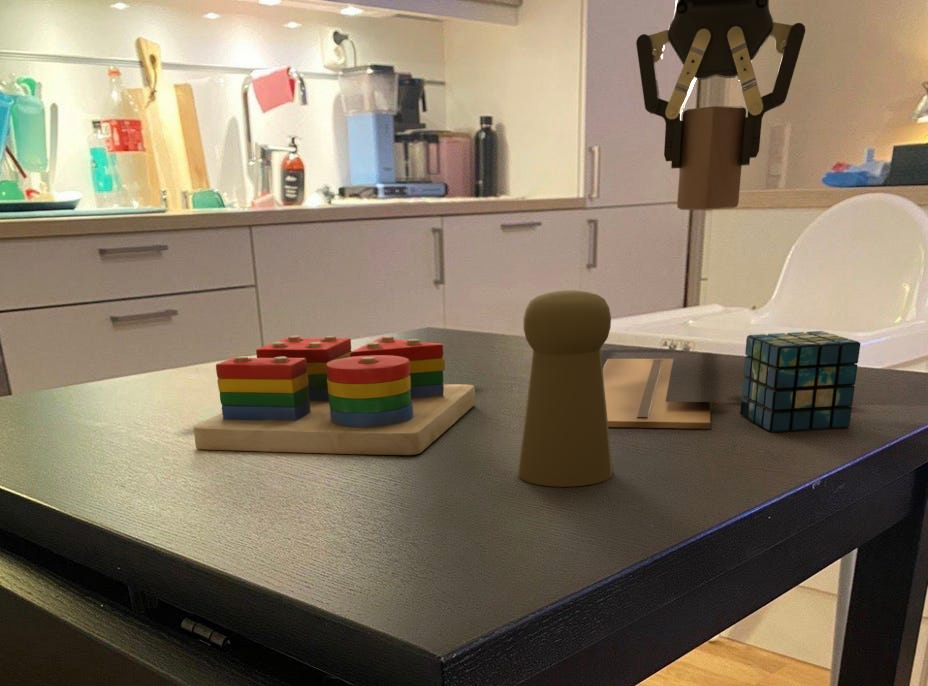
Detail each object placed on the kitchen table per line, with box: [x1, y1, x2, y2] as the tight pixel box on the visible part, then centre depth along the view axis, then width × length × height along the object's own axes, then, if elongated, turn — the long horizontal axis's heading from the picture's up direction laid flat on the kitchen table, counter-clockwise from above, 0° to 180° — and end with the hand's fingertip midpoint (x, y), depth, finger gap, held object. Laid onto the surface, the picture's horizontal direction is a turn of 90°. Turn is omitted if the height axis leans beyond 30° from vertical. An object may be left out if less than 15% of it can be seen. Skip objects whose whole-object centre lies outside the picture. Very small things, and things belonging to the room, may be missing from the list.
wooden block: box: [676, 105, 747, 211], centre depth 85 cm, size 4×4×8 cm
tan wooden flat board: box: [602, 358, 712, 430], centre depth 85 cm, size 10×28×1 cm, turn 166°
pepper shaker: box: [517, 289, 614, 488], centre depth 60 cm, size 6×6×11 cm
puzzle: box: [739, 330, 861, 433], centre depth 71 cm, size 6×6×6 cm
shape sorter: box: [193, 335, 476, 456], centre depth 76 cm, size 18×17×6 cm
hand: (709, 165), depth 86 cm, fingers closed on wooden block, 5 cm apart
